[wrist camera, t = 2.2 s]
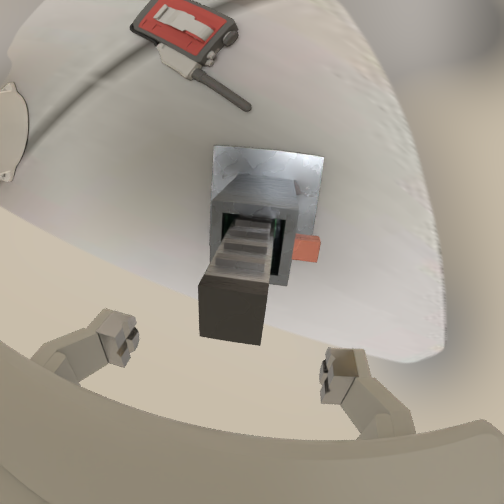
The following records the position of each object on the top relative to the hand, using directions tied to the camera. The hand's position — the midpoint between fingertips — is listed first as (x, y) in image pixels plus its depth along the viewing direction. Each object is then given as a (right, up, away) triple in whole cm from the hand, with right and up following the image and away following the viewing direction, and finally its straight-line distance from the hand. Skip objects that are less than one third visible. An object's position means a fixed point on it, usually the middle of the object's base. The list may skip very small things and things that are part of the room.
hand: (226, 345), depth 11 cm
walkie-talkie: (-5, +28, +14) cm, 31 cm away
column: (+2, +9, +20) cm, 22 cm away
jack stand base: (+2, +10, +21) cm, 23 cm away
